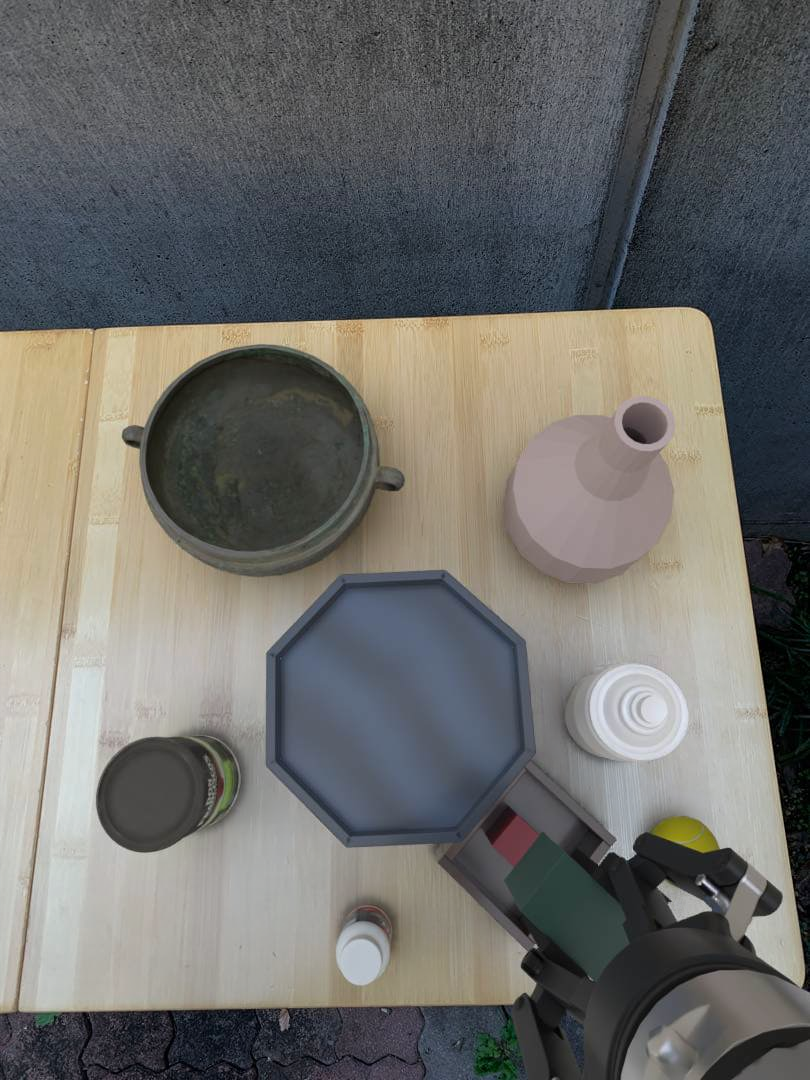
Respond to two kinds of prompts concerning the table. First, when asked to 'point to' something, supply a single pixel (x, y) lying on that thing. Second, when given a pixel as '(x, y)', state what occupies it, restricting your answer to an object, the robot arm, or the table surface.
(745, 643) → the table surface
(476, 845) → the holder
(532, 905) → the packet green
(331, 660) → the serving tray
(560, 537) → the vase
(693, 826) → the tennis ball
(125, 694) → the table surface
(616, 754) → the white stepped cylinder
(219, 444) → the bowl
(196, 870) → the table surface
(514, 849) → the red rectangular block
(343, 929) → the pill bottle
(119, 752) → the coffee can
